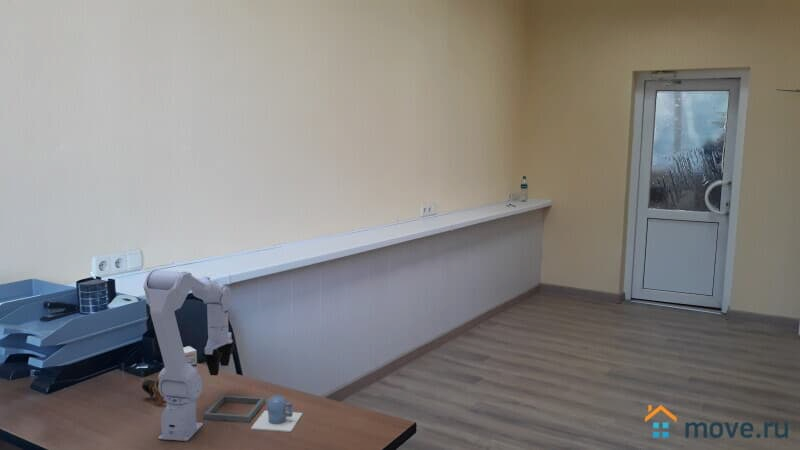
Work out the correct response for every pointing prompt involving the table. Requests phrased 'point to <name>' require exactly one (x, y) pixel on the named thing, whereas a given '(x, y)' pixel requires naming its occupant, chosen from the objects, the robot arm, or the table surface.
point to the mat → (284, 427)
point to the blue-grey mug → (278, 409)
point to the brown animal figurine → (153, 390)
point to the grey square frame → (232, 417)
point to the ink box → (191, 356)
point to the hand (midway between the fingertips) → (219, 370)
